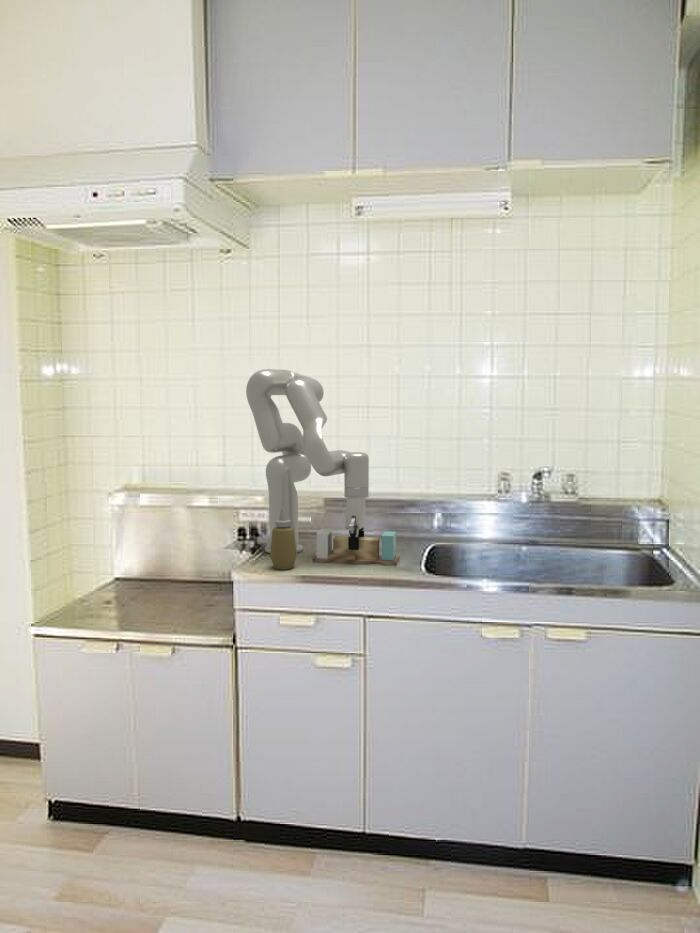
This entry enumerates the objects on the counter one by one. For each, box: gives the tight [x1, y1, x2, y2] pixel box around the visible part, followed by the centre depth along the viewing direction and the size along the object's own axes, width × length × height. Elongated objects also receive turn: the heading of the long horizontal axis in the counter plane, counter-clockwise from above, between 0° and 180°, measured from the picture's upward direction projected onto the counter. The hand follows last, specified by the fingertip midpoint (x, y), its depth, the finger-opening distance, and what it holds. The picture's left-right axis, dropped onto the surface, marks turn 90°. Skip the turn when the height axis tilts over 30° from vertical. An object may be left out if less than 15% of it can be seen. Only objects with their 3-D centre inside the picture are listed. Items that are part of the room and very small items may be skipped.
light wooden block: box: [332, 535, 380, 560], centre depth 232 cm, size 14×4×6 cm, turn 79°
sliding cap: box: [381, 530, 397, 561], centre depth 230 cm, size 4×7×8 cm, turn 170°
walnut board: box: [312, 549, 400, 566], centre depth 232 cm, size 26×9×2 cm, turn 80°
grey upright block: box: [315, 528, 333, 559], centre depth 234 cm, size 4×7×8 cm, turn 170°
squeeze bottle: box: [269, 508, 298, 570], centre depth 222 cm, size 8×8×18 cm
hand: (356, 546), depth 232 cm, fingers open, 9 cm apart
